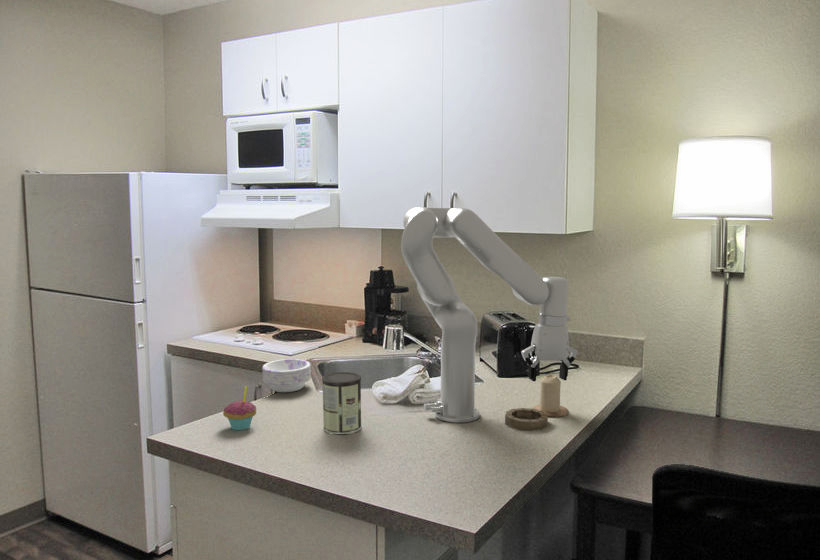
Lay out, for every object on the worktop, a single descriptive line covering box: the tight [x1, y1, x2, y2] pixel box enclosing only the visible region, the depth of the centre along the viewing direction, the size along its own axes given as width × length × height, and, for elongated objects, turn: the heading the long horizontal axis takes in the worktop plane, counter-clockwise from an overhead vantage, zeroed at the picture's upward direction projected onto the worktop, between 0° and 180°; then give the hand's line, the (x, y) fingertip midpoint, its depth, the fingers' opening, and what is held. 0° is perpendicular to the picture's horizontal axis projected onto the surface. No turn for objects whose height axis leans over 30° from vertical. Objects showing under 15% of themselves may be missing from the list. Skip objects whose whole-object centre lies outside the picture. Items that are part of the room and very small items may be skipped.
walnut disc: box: [532, 404, 569, 418], centre depth 194 cm, size 10×10×1 cm
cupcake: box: [222, 383, 257, 431], centre depth 180 cm, size 9×8×12 cm
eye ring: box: [504, 407, 549, 432], centre depth 184 cm, size 11×11×2 cm
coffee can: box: [321, 371, 362, 435], centre depth 179 cm, size 10×10×14 cm
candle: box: [539, 374, 561, 413], centre depth 193 cm, size 6×6×10 cm
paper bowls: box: [261, 358, 312, 393], centre depth 215 cm, size 15×15×8 cm
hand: (547, 379), depth 193 cm, fingers open, 9 cm apart
